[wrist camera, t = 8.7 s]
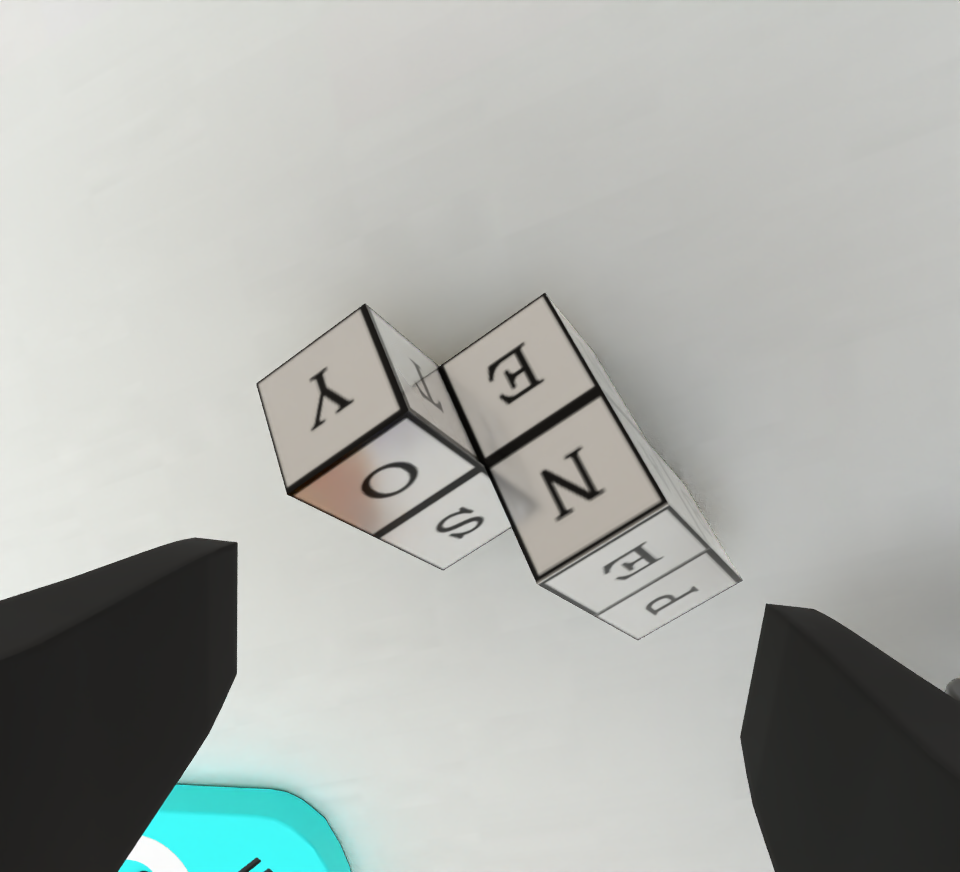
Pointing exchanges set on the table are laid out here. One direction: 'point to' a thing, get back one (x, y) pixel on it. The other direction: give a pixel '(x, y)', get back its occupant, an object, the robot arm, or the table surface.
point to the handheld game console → (236, 834)
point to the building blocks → (495, 462)
